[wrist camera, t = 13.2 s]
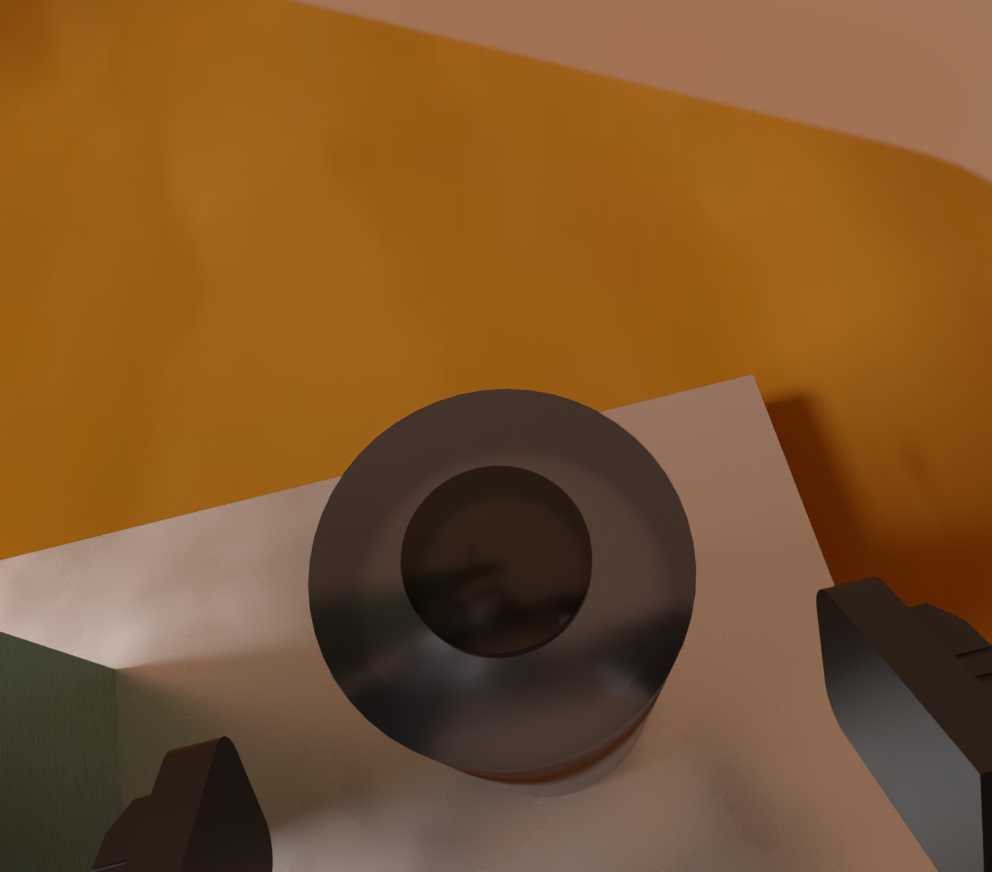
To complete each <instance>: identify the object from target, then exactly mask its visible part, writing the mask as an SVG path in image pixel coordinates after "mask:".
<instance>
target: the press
mask: <svg viewBox="0 0 992 872" xmlns="http://www.w3.org/2000/svg"><path fill="white" fill-rule="evenodd" d="M599 413H601V414H603V415H604V416H606V417H608V418H609V419H611V420H613V421H614V422H616V423H617V424H619V425H620V426H621V427H622V428H624V429H625V430H626V431H627V432H629V433H630V434H631V435H633V436H634V437H635V438H636V439H637V440H638V441H639V442H640V443H641V444H642V445H643V446H644V447H645V448H646V449H647V450H648V451H649V452H650V453H651V454H652V455H653V457H654V458H655V459H656V461H657V462H658V463H659V465H660V466H661V467H662V469H663V470H664V471H665V473H666V474H667V476H668V478H669V479H670V481H671V483H672V485H673V487H674V488H675V490H676V492H677V494H678V496H679V498H680V501H681V503H682V506H683V508H684V511H685V513H686V516H687V518H688V522H689V526H690V530H691V534H692V538H693V542H694V551H695V560H696V594H695V600H694V606H693V612H692V618H691V621H690V625H689V628H688V631H687V634H686V637H685V641H684V644H683V646H682V648H681V650H680V652H679V654H678V657H677V659H676V661H675V663H674V665H673V667H672V669H671V671H670V674H669V676H668V678H667V680H666V682H665V684H664V686H663V688H662V690H661V692H660V695H659V697H658V699H657V701H656V703H655V705H654V707H653V709H652V711H651V713H650V715H649V718H648V720H647V722H646V724H645V726H644V728H643V730H642V732H641V734H640V736H639V739H638V741H637V742H636V744H635V745H634V747H633V749H632V750H631V752H630V753H629V754H628V756H627V757H626V758H625V759H624V760H623V761H622V763H621V764H620V765H619V766H618V767H617V768H616V769H614V770H613V771H612V772H611V773H610V774H609V775H607V776H606V777H604V778H603V779H601V780H600V781H598V782H597V783H595V784H593V785H591V786H589V787H587V788H585V789H583V790H580V791H577V792H574V793H571V794H568V795H561V796H555V797H531V796H523V795H519V794H515V793H511V792H508V791H505V790H503V789H501V788H498V787H496V786H493V785H491V784H489V783H486V782H484V781H482V780H479V779H477V778H475V777H472V776H470V775H468V774H465V773H463V772H461V771H458V770H456V769H454V768H451V767H449V766H447V765H444V764H442V763H440V762H437V761H435V760H433V759H430V758H428V757H426V756H423V755H421V754H419V753H416V752H414V751H412V750H410V749H408V748H406V747H405V746H403V745H401V744H400V743H398V742H396V741H394V740H393V739H391V738H389V737H388V736H386V735H385V734H384V733H383V732H381V731H380V730H379V729H378V728H377V727H375V726H374V725H373V724H372V723H370V722H369V721H368V720H367V719H366V718H365V717H364V716H363V715H362V714H361V713H360V712H359V711H358V710H357V709H356V708H355V706H354V705H353V704H352V703H351V702H350V701H349V700H348V698H347V697H346V696H345V694H344V693H343V691H342V690H341V688H340V687H339V686H338V684H337V683H336V681H335V680H334V678H333V676H332V674H331V672H330V670H329V668H328V666H327V664H326V662H325V660H324V658H323V656H322V653H321V650H320V647H319V645H318V642H317V639H316V636H315V633H314V628H313V623H312V618H311V613H310V606H309V592H308V577H309V562H310V556H311V550H312V545H313V540H314V536H315V533H316V530H317V527H318V524H319V521H320V518H321V514H322V512H323V510H324V508H325V506H326V504H327V502H328V499H329V497H330V495H331V493H332V491H333V490H334V488H335V487H336V485H337V483H338V482H339V480H340V479H341V477H342V476H340V477H336V478H332V479H328V480H324V481H320V482H316V483H312V484H308V485H304V486H300V487H296V488H292V489H288V490H283V491H279V492H275V493H271V494H267V495H263V496H259V497H255V498H251V499H247V500H243V501H239V502H235V503H231V504H227V505H223V506H219V507H215V508H211V509H207V510H203V511H199V512H194V513H190V514H186V515H182V516H178V517H174V518H170V519H166V520H162V521H158V522H154V523H150V524H146V525H142V526H138V527H134V528H130V529H126V530H122V531H118V532H114V533H110V534H105V535H101V536H97V537H93V538H89V539H85V540H81V541H77V542H73V543H69V544H65V545H61V546H57V547H53V548H49V549H45V550H41V551H37V552H33V553H29V554H25V555H21V556H16V557H12V558H8V559H4V560H0V872H93V871H92V867H93V864H94V862H95V859H96V857H97V854H98V852H99V849H100V847H101V844H102V842H103V839H104V837H105V835H106V833H107V831H108V830H109V829H110V828H111V827H112V825H113V824H114V823H115V822H116V820H117V819H118V818H119V817H120V815H121V814H122V813H123V812H124V811H125V809H126V808H127V807H128V806H129V804H130V803H131V802H132V801H133V800H134V799H136V798H140V797H144V796H148V795H151V792H152V789H153V786H154V784H155V781H156V778H157V775H158V773H159V770H160V767H161V764H162V762H163V759H164V757H165V755H166V753H167V752H168V751H169V750H171V749H175V748H179V747H183V746H187V745H191V744H195V743H199V742H203V741H207V740H211V739H215V738H219V737H223V736H226V737H228V738H229V739H230V740H231V741H232V742H233V744H234V745H235V748H236V750H237V752H238V754H239V757H240V759H241V762H242V764H243V766H244V769H245V771H246V774H247V776H248V778H249V781H250V783H251V786H252V788H253V790H254V793H255V795H256V798H257V800H258V802H259V805H260V807H261V810H262V812H263V814H264V817H265V819H266V822H267V825H268V828H269V832H270V837H271V843H272V853H273V869H272V872H938V871H937V869H936V868H935V866H934V865H933V863H932V862H931V860H930V859H929V857H928V856H927V854H926V853H925V851H924V850H923V849H922V847H921V846H920V844H919V843H918V841H917V840H916V838H915V837H914V835H913V834H912V832H911V831H910V830H909V828H908V827H907V825H906V824H905V822H904V821H903V819H902V818H901V816H900V815H899V813H898V812H897V810H896V809H895V808H894V806H893V805H892V803H891V802H890V800H889V799H888V797H887V796H886V794H885V793H884V791H883V790H882V789H881V787H880V786H879V784H878V783H877V781H876V780H875V778H874V777H873V775H872V774H871V772H870V771H869V769H868V768H867V767H866V765H865V764H864V762H863V761H862V759H861V758H860V756H859V755H858V753H857V752H856V750H855V749H854V748H853V746H852V745H851V743H850V742H849V740H848V739H847V737H846V736H845V734H844V733H843V731H842V730H841V728H840V726H839V724H838V722H837V720H836V718H835V715H834V713H833V710H832V708H831V705H830V702H829V699H828V695H827V691H826V686H825V679H824V670H823V661H822V652H821V643H820V634H819V626H818V617H817V608H816V596H817V592H818V591H819V590H820V589H824V588H828V587H832V586H835V585H834V583H833V580H832V578H831V575H830V573H829V570H828V567H827V565H826V562H825V560H824V557H823V554H822V552H821V549H820V547H819V544H818V541H817V539H816V536H815V534H814V531H813V528H812V526H811V523H810V521H809V518H808V516H807V513H806V510H805V508H804V505H803V503H802V500H801V497H800V495H799V492H798V490H797V487H796V484H795V482H794V479H793V477H792V474H791V471H790V469H789V466H788V464H787V461H786V458H785V456H784V453H783V451H782V448H781V446H780V443H779V440H778V438H777V435H776V433H775V430H774V427H773V425H772V422H771V420H770V417H769V414H768V412H767V409H766V407H765V404H764V401H763V399H762V396H761V394H760V391H759V389H758V386H757V383H756V381H755V378H754V376H753V375H749V376H745V377H741V378H737V379H733V380H728V381H724V382H720V383H716V384H712V385H708V386H704V387H700V388H696V389H692V390H688V391H684V392H680V393H676V394H672V395H668V396H664V397H660V398H656V399H652V400H648V401H644V402H639V403H635V404H631V405H627V406H623V407H619V408H615V409H611V410H607V411H603V412H599Z"/></svg>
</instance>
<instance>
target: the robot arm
mask: <svg viewBox="0 0 992 872" xmlns="http://www.w3.org/2000/svg"><path fill="white" fill-rule="evenodd" d="M816 608H817V617H818V626H819V634H820V643H821V652H822V661H823V670H824V679H825V686H826V691H827V695H828V699H829V702H830V705H831V708H832V710H833V713H834V715H835V718H836V720H837V722H838V724H839V726H840V728H841V730H842V731H843V733H844V734H845V736H846V737H847V739H848V740H849V742H850V743H851V745H852V746H853V748H854V749H855V750H856V752H857V753H858V755H859V756H860V758H861V759H862V761H863V762H864V764H865V765H866V767H867V768H868V769H869V771H870V772H871V774H872V775H873V777H874V778H875V780H876V781H877V783H878V784H879V786H880V787H881V789H882V790H883V791H884V793H885V794H886V796H887V797H888V799H889V800H890V802H891V803H892V805H893V806H894V808H895V809H896V810H897V812H898V813H899V815H900V816H901V818H902V819H903V821H904V822H905V824H906V825H907V827H908V828H909V830H910V831H911V832H912V834H913V835H914V837H915V838H916V840H917V841H918V843H919V844H920V846H921V847H922V849H923V850H924V851H925V853H926V854H927V856H928V857H929V859H930V860H931V862H932V863H933V865H934V866H935V868H936V869H937V871H938V872H992V645H990V644H989V643H988V642H987V641H986V640H985V639H984V638H983V637H982V636H981V635H980V634H979V633H978V632H977V631H976V630H975V629H974V628H973V627H971V626H970V625H969V624H968V623H967V622H966V621H965V620H963V619H960V618H958V617H956V616H954V615H952V614H950V613H947V612H945V611H943V610H941V609H939V608H937V607H934V606H932V605H930V604H928V603H926V604H922V605H918V606H914V607H910V608H907V607H906V605H905V604H904V603H903V602H902V601H901V600H900V599H899V598H898V597H897V596H896V595H895V594H894V593H893V592H892V591H891V590H890V589H889V588H888V587H887V586H886V585H885V584H884V583H883V582H882V581H881V580H880V579H879V578H877V577H874V576H873V577H869V578H865V579H861V580H856V581H852V582H848V583H844V584H840V585H836V586H832V587H828V588H824V589H820V590H819V591H818V592H817V596H816ZM272 869H273V853H272V843H271V837H270V832H269V828H268V825H267V822H266V819H265V817H264V814H263V812H262V810H261V807H260V805H259V802H258V800H257V798H256V795H255V793H254V790H253V788H252V786H251V783H250V781H249V778H248V776H247V774H246V771H245V769H244V766H243V764H242V762H241V759H240V757H239V754H238V752H237V750H236V748H235V745H234V744H233V742H232V741H231V740H230V739H229V738H228V737H226V736H223V737H219V738H215V739H211V740H207V741H203V742H199V743H195V744H191V745H187V746H183V747H179V748H175V749H171V750H169V751H168V752H167V753H166V755H165V757H164V759H163V762H162V764H161V767H160V770H159V773H158V775H157V778H156V781H155V784H154V786H153V789H152V792H151V795H148V796H144V797H140V798H136V799H134V800H133V801H132V802H131V803H130V804H129V806H128V807H127V808H126V809H125V811H124V812H123V813H122V814H121V815H120V817H119V818H118V819H117V820H116V822H115V823H114V824H113V825H112V827H111V828H110V829H109V830H108V831H107V833H106V835H105V837H104V839H103V842H102V844H101V847H100V849H99V852H98V854H97V857H96V859H95V862H94V864H93V867H92V871H93V872H272Z"/></svg>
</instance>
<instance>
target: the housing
mask: <svg viewBox="0 0 992 872" xmlns="http://www.w3.org/2000/svg"><path fill="white" fill-rule="evenodd" d="M308 592H309V606H310V613H311V618H312V623H313V628H314V633H315V636H316V639H317V642H318V645H319V647H320V650H321V653H322V656H323V658H324V660H325V662H326V664H327V666H328V668H329V670H330V672H331V674H332V676H333V678H334V680H335V681H336V683H337V684H338V686H339V687H340V688H341V690H342V691H343V693H344V694H345V696H346V697H347V698H348V700H349V701H350V702H351V703H352V704H353V705H354V706H355V708H356V709H357V710H358V711H359V712H360V713H361V714H362V715H363V716H364V717H365V718H366V719H367V720H368V721H369V722H370V723H372V724H373V725H374V726H375V727H377V728H378V729H379V730H380V731H381V732H383V733H384V734H385V735H386V736H388V737H389V738H391V739H393V740H394V741H396V742H398V743H400V744H401V745H403V746H405V747H406V748H408V749H410V750H412V751H414V752H416V753H419V754H421V755H423V756H426V757H428V758H430V759H433V760H435V761H437V762H440V763H442V764H444V765H447V766H449V767H451V768H454V769H456V770H458V771H461V772H463V773H465V774H468V775H470V776H472V777H475V778H477V779H479V780H482V781H484V782H486V783H489V784H491V785H493V786H496V787H498V788H501V789H503V790H505V791H508V792H511V793H515V794H519V795H523V796H531V797H555V796H561V795H568V794H571V793H574V792H577V791H580V790H583V789H585V788H587V787H589V786H591V785H593V784H595V783H597V782H598V781H600V780H601V779H603V778H604V777H606V776H607V775H609V774H610V773H611V772H612V771H613V770H614V769H616V768H617V767H618V766H619V765H620V764H621V763H622V761H623V760H624V759H625V758H626V757H627V756H628V754H629V753H630V752H631V750H632V749H633V747H634V745H635V744H636V742H637V741H638V739H639V736H640V734H641V732H642V730H643V728H644V726H645V724H646V722H647V720H648V718H649V715H650V713H651V711H652V709H653V707H654V705H655V703H656V701H657V699H658V697H659V695H660V692H661V690H662V688H663V686H664V684H665V682H666V680H667V678H668V676H669V674H670V671H671V669H672V667H673V665H674V663H675V661H676V659H677V657H678V654H679V652H680V650H681V648H682V646H683V644H684V641H685V637H686V634H687V631H688V628H689V625H690V621H691V618H692V612H693V606H694V600H695V594H696V560H695V551H694V542H693V538H692V534H691V530H690V526H689V522H688V518H687V516H686V513H685V511H684V508H683V506H682V503H681V501H680V498H679V496H678V494H677V492H676V490H675V488H674V487H673V485H672V483H671V481H670V479H669V478H668V476H667V474H666V473H665V471H664V470H663V469H662V467H661V466H660V465H659V463H658V462H657V461H656V459H655V458H654V457H653V455H652V454H651V453H650V452H649V451H648V450H647V449H646V448H645V447H644V446H643V445H642V444H641V443H640V442H639V441H638V440H637V439H636V438H635V437H634V436H633V435H631V434H630V433H629V432H627V431H626V430H625V429H624V428H622V427H621V426H620V425H619V424H617V423H616V422H614V421H613V420H611V419H609V418H608V417H606V416H604V415H603V414H601V413H599V412H598V411H596V410H594V409H591V408H589V407H587V406H585V405H582V404H580V403H578V402H576V401H573V400H569V399H566V398H563V397H559V396H556V395H553V394H547V393H542V392H536V391H531V390H515V389H499V390H483V391H478V392H472V393H466V394H461V395H457V396H454V397H451V398H447V399H444V400H441V401H438V402H435V403H433V404H431V405H429V406H426V407H424V408H422V409H419V410H417V411H415V412H413V413H412V414H410V415H408V416H407V417H405V418H403V419H401V420H400V421H398V422H396V423H395V424H394V425H392V426H391V427H390V428H388V429H387V430H386V431H384V432H383V433H382V434H380V435H379V436H378V437H377V438H375V439H374V440H373V441H372V442H371V443H370V444H369V445H368V446H367V447H366V448H365V449H364V450H363V451H362V452H361V453H360V454H359V455H358V456H357V458H356V459H355V460H354V461H353V462H352V464H351V465H350V466H349V467H348V469H347V470H346V471H345V472H344V474H343V476H342V477H341V479H340V480H339V482H338V483H337V485H336V487H335V488H334V490H333V491H332V493H331V495H330V497H329V499H328V502H327V504H326V506H325V508H324V510H323V512H322V514H321V518H320V521H319V524H318V527H317V530H316V533H315V536H314V540H313V545H312V550H311V556H310V562H309V577H308Z"/></svg>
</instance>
